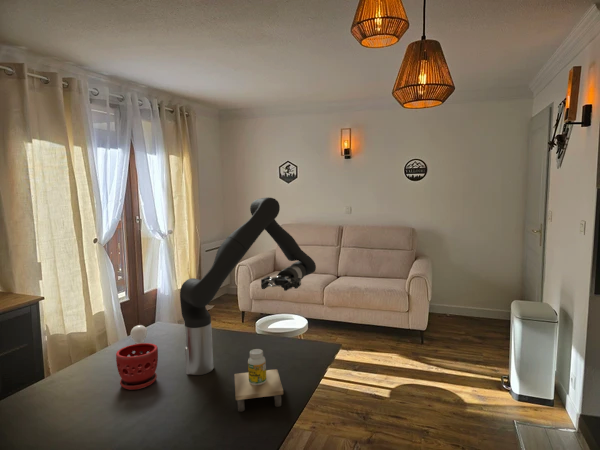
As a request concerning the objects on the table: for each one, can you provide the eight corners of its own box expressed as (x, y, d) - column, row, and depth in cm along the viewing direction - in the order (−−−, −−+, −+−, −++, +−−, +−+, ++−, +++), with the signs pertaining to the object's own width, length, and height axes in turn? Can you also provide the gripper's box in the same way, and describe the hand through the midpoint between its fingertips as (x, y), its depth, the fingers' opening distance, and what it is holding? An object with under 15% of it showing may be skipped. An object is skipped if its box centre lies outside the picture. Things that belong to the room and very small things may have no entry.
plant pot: (163, 385, 134) (161, 351, 132) (121, 397, 127) (118, 361, 126) (155, 370, 145) (153, 338, 144) (116, 380, 138) (113, 347, 137)
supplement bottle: (269, 378, 126) (267, 348, 125) (262, 387, 121) (261, 356, 120) (253, 376, 127) (251, 347, 126) (245, 384, 122) (244, 354, 121)
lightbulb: (138, 356, 157) (136, 329, 156) (128, 353, 160) (126, 326, 159) (152, 350, 162) (150, 324, 161) (142, 347, 166) (140, 321, 165)
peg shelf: (236, 413, 116) (235, 396, 116) (235, 389, 130) (234, 373, 129) (283, 407, 119) (283, 390, 118) (277, 384, 133) (277, 369, 132)
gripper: (272, 266, 158) (254, 275, 143) (306, 268, 153) (292, 278, 138) (273, 284, 159) (255, 296, 143) (307, 287, 154) (292, 299, 139)
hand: (273, 287), depth 141 cm, fingers open, 8 cm apart
